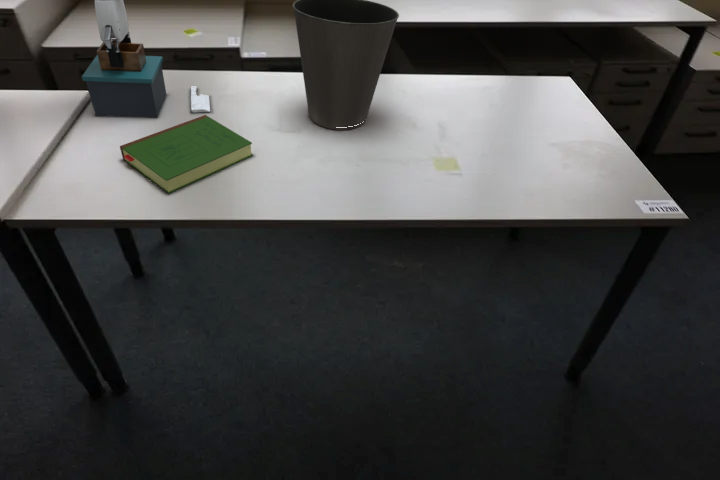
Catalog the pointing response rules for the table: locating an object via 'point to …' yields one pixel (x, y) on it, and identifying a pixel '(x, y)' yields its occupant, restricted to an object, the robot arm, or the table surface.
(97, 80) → the storage bin
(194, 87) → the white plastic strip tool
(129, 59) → the wooden box
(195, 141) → the hardcover book
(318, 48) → the waste basket
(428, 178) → the table surface
